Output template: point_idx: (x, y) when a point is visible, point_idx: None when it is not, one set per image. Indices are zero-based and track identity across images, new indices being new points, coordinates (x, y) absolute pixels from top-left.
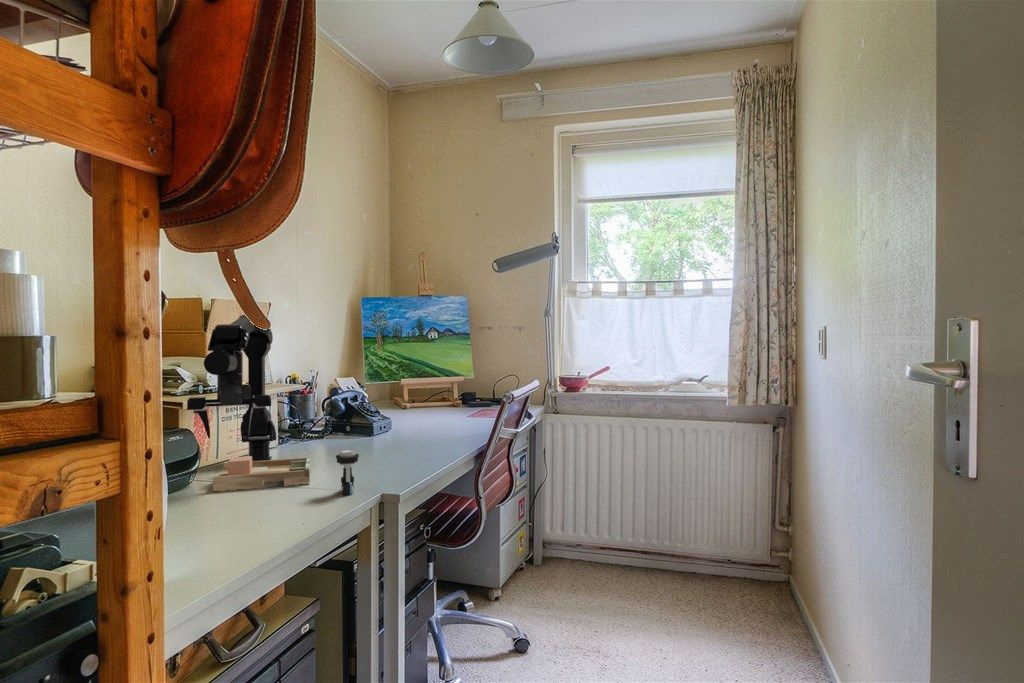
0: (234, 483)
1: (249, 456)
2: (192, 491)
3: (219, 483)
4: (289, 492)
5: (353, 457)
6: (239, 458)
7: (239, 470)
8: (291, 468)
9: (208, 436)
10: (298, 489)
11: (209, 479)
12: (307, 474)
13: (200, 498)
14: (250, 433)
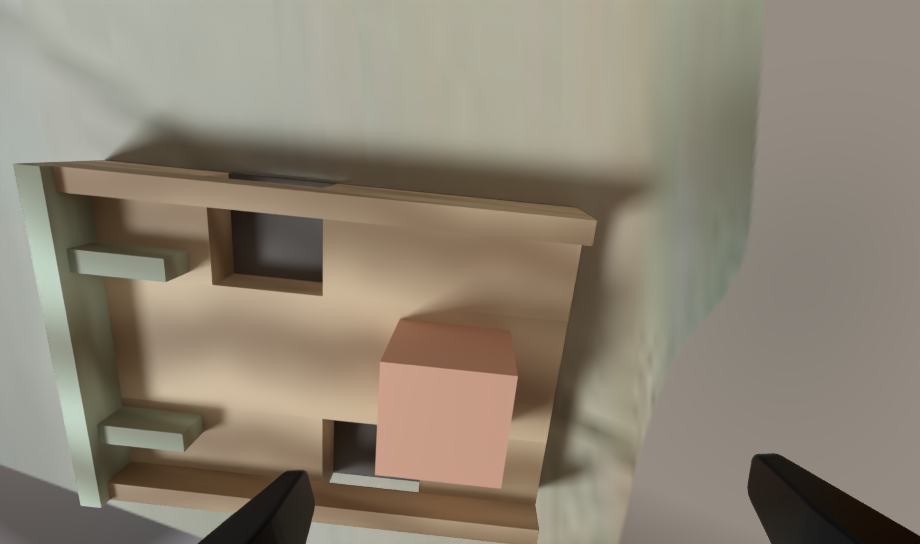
0: (474, 201)
1: (390, 474)
2: (673, 267)
3: (553, 210)
4: (184, 22)
5: None
6: (448, 443)
7: (450, 340)
8: (150, 270)
9: (786, 465)
10: (145, 72)
11: (592, 460)
12: (60, 163)
13: (640, 99)
14: (281, 480)
